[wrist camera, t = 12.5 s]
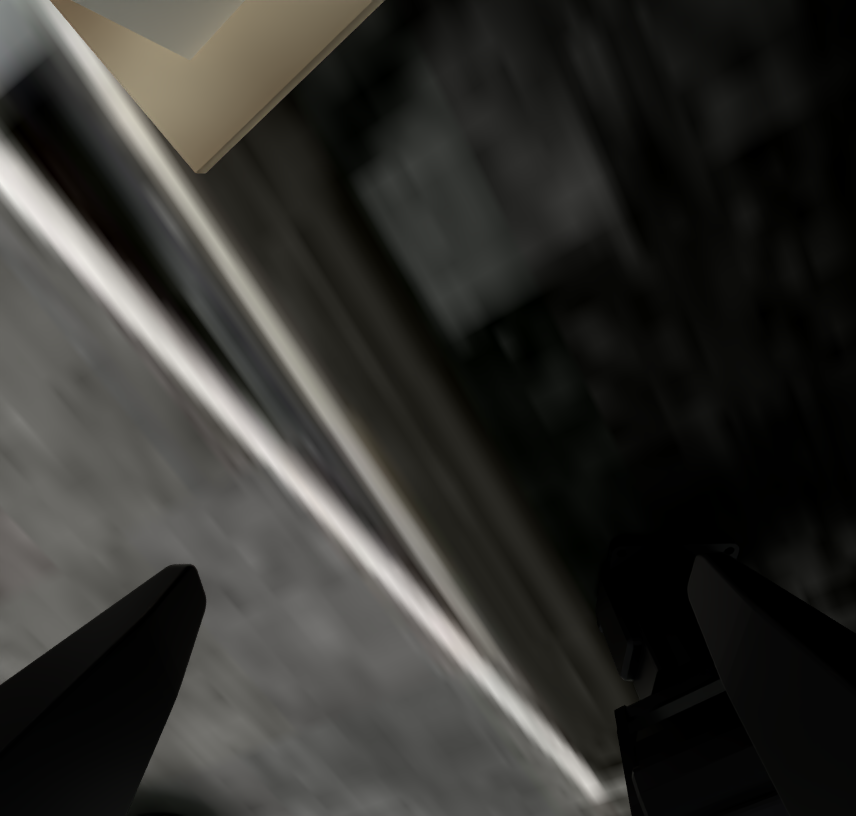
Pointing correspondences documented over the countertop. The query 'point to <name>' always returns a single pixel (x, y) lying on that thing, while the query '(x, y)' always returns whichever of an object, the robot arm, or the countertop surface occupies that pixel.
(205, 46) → the beige board with block
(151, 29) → the tall pale rectangular prism
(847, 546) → the countertop surface
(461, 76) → the countertop surface
